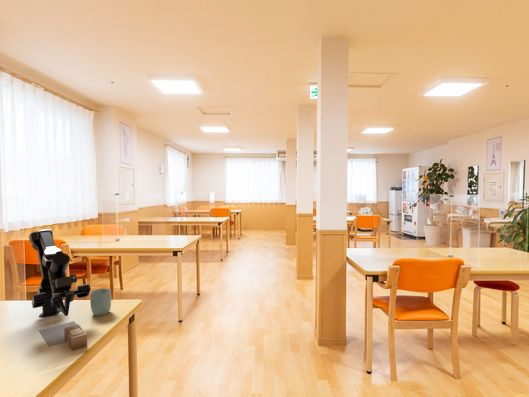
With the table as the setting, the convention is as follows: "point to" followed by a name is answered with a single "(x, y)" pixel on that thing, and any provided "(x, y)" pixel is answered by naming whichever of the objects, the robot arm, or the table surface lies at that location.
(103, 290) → the cup
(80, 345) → the block
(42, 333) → the mat
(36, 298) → the robot arm
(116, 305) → the table surface
